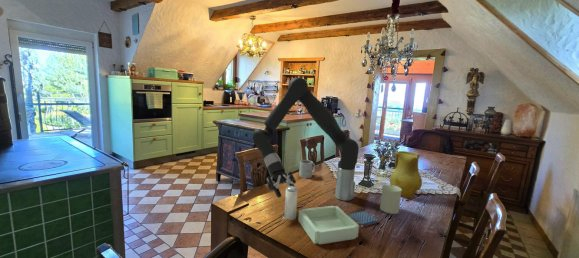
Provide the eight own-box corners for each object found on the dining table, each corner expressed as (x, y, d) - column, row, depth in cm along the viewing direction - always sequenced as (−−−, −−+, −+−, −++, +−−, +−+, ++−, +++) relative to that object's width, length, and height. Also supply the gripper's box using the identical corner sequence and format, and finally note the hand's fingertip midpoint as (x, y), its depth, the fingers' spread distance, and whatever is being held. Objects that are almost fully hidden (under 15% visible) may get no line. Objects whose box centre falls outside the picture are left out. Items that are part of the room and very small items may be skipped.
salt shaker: (293, 213, 121) (295, 185, 119) (297, 219, 116) (299, 189, 113) (282, 214, 119) (284, 186, 117) (286, 220, 114) (288, 190, 112)
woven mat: (362, 213, 125) (363, 209, 125) (379, 224, 116) (380, 220, 116) (346, 217, 121) (346, 213, 120) (362, 228, 111) (362, 224, 111)
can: (398, 207, 133) (401, 185, 131) (399, 215, 125) (402, 191, 123) (379, 204, 136) (382, 182, 134) (379, 211, 127) (382, 188, 126)
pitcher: (387, 195, 147) (394, 152, 144) (388, 186, 164) (394, 148, 161) (421, 202, 141) (428, 158, 138) (417, 192, 158) (424, 152, 155)
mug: (302, 178, 168) (303, 163, 167) (296, 174, 176) (297, 160, 174) (318, 177, 173) (319, 162, 172) (312, 172, 181) (313, 159, 179)
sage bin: (335, 215, 121) (336, 205, 120) (358, 238, 103) (360, 226, 102) (297, 219, 115) (298, 209, 114) (315, 245, 97) (316, 232, 96)
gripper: (265, 162, 118) (278, 195, 111) (289, 158, 127) (303, 188, 120) (258, 170, 123) (271, 202, 116) (281, 166, 132) (295, 195, 125)
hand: (287, 195), depth 118 cm, fingers open, 8 cm apart
